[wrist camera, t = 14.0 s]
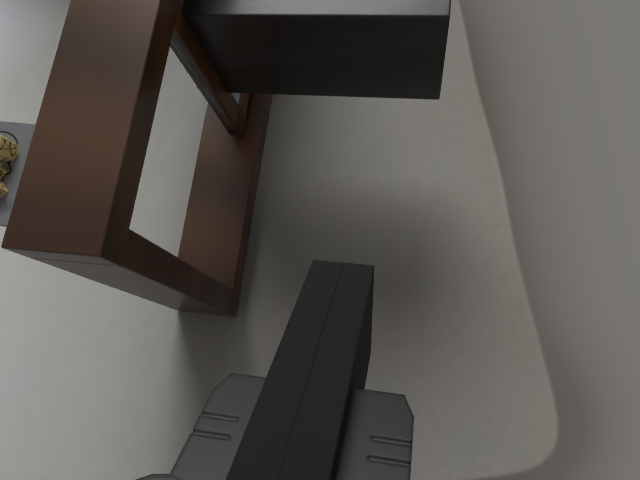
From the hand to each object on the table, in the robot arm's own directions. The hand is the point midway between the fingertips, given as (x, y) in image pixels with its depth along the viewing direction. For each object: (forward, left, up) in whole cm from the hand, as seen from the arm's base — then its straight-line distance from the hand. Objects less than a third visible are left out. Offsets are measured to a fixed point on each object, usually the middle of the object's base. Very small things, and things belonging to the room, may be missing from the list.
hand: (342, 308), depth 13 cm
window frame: (+18, -6, -19) cm, 27 cm away
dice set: (+31, +9, -20) cm, 37 cm away
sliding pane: (+14, -13, -18) cm, 26 cm away
